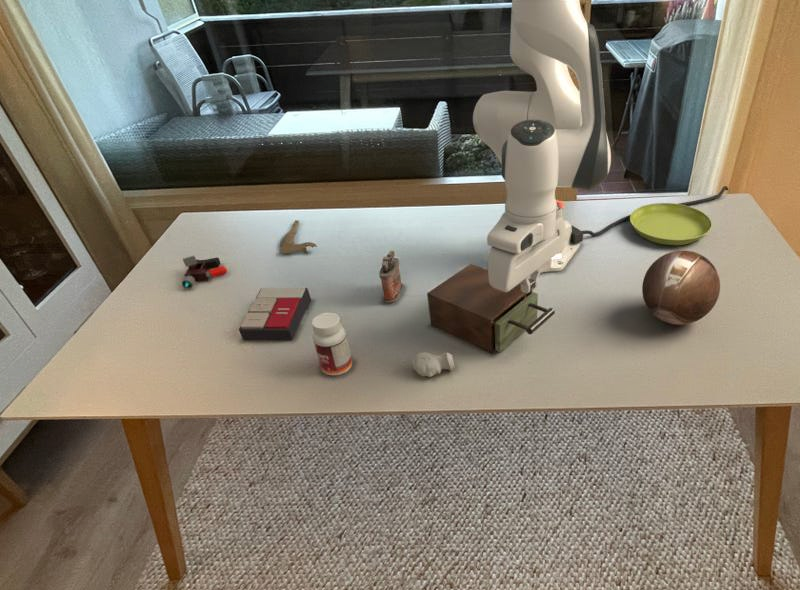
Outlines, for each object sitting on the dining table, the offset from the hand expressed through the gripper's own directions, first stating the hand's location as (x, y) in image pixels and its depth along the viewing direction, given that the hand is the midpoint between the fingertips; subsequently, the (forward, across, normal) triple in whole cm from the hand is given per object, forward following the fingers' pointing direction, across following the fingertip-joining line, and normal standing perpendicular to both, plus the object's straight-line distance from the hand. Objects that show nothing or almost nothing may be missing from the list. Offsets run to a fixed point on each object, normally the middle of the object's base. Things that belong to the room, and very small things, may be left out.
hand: (528, 289), depth 108 cm
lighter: (+13, +3, -36) cm, 38 cm away
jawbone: (+13, -3, -76) cm, 77 cm away
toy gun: (+13, +24, -80) cm, 84 cm away
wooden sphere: (+13, -25, +20) cm, 35 cm away
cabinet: (+13, 0, -12) cm, 18 cm away
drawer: (+12, 0, -7) cm, 14 cm away
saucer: (+13, -61, +3) cm, 63 cm away
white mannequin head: (+13, +18, -10) cm, 24 cm away
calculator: (+13, +25, -50) cm, 57 cm away
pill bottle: (+13, +28, -27) cm, 41 cm away
